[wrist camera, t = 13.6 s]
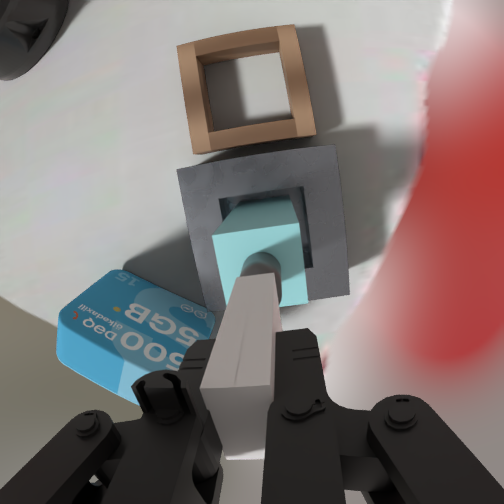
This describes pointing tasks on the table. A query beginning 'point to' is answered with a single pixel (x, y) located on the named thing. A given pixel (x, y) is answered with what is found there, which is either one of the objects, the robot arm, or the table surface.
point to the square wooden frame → (234, 48)
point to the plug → (263, 247)
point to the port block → (265, 186)
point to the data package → (128, 331)
